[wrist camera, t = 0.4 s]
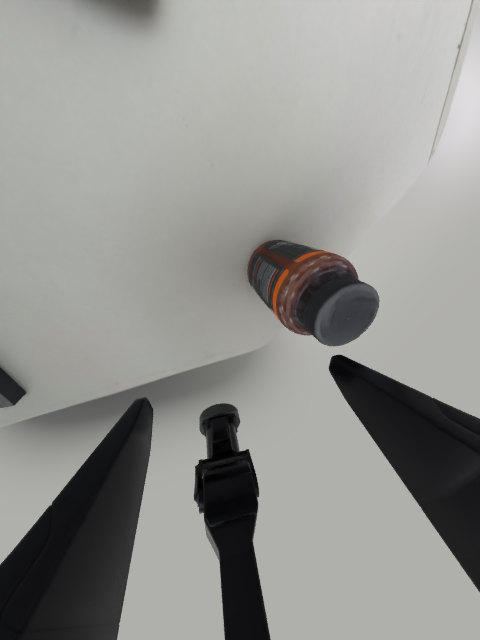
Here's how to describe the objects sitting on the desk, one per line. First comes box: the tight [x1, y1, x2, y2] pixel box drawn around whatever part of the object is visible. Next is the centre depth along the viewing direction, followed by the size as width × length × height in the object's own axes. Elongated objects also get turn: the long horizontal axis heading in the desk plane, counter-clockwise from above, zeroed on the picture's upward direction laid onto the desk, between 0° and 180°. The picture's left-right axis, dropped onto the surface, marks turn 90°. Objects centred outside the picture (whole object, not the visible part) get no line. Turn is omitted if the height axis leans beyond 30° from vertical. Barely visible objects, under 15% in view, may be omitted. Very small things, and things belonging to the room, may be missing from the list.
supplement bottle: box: [247, 240, 379, 346], centre depth 15 cm, size 6×6×11 cm
